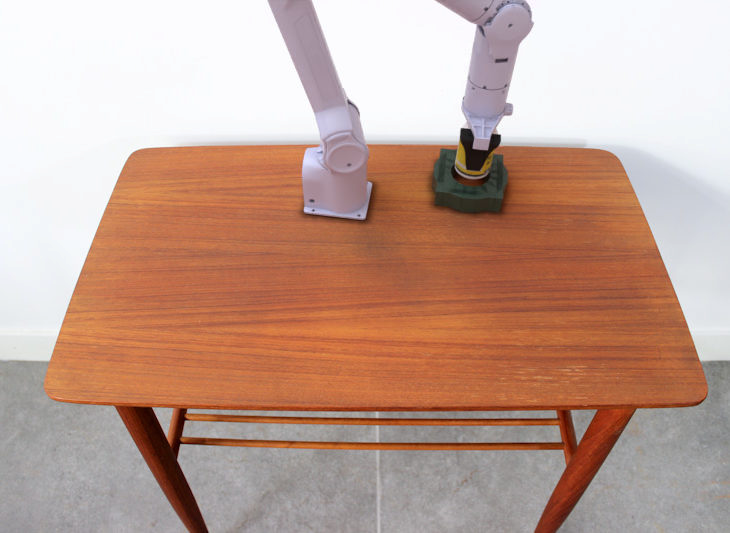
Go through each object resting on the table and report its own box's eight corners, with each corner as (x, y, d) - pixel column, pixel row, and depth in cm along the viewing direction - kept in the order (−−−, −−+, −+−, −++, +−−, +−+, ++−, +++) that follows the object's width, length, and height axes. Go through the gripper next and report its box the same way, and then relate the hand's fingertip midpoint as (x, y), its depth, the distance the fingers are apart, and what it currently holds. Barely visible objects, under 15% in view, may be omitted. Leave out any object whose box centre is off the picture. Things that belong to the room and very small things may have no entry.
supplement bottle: (488, 183, 90) (500, 131, 83) (452, 177, 91) (461, 125, 83) (491, 159, 94) (502, 107, 86) (456, 154, 94) (465, 102, 87)
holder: (429, 208, 92) (431, 194, 90) (434, 158, 99) (436, 144, 97) (504, 216, 91) (507, 202, 89) (504, 166, 98) (507, 152, 96)
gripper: (520, 114, 75) (500, 192, 85) (519, 49, 84) (501, 128, 94) (463, 108, 75) (450, 186, 86) (468, 45, 84) (456, 123, 95)
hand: (473, 155), depth 90 cm, fingers closed on supplement bottle, 5 cm apart
